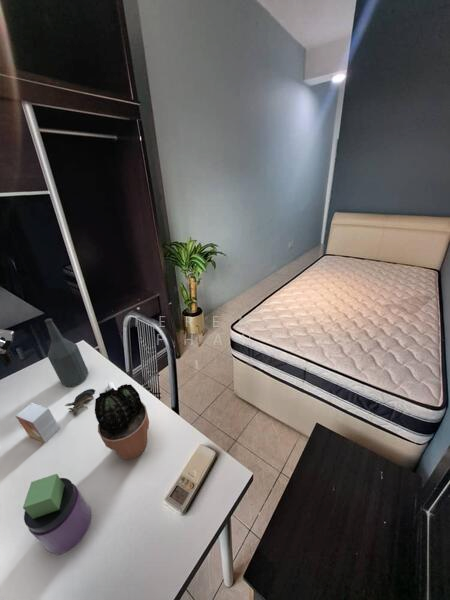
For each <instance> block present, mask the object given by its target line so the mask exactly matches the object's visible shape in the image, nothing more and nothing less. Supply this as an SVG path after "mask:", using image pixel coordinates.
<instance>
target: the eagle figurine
mask: <svg viewBox="0 0 450 600" xmlns="http://www.w3.org/2000/svg"><path fill="white" fill-rule="evenodd" d="M95 394H96V389H94V388H89V389H85V390H83V391H82V392H80V393H78V395H76V396H75V398H74V400H73V402H68V403H66V404H64V406H65V407H68V412H69V413H73V416H75V415H76V414H77V412H78V408H86V409H89V406H88V405H87V404H85V403H84V402H86V401H88V400H92V399H94V395H95ZM71 406H72V407H71Z"/></svg>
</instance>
